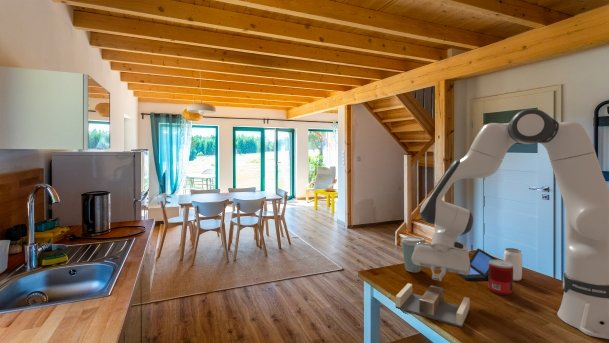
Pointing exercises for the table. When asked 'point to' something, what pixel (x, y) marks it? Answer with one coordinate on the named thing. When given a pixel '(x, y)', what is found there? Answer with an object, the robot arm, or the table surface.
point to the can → (514, 261)
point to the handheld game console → (479, 266)
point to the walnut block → (431, 300)
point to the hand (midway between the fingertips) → (436, 279)
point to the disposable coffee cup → (410, 252)
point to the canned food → (500, 277)
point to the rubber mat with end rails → (444, 311)
